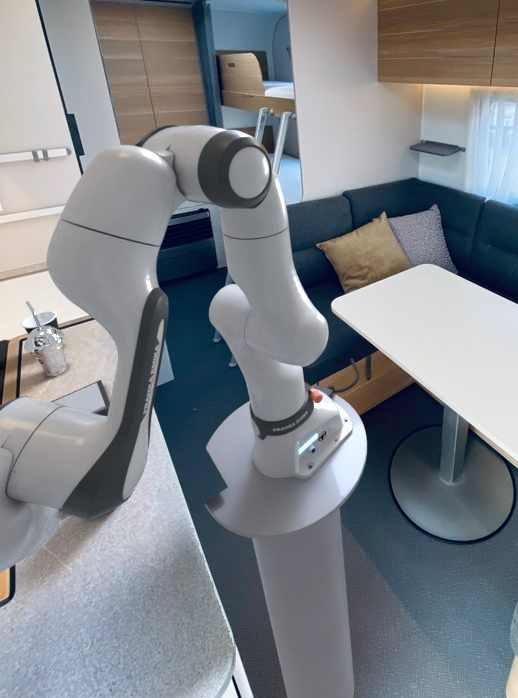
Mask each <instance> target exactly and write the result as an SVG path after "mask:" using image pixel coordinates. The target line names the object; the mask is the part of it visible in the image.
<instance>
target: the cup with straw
mask: <svg viewBox="0 0 518 698" xmlns="http://www.w3.org/2000/svg"><path fill="white" fill-rule="evenodd" d="M25 304H26V306H27V307H28V309H29V311H30V312H31V316H32V315H33V317H34V320H35V322H36V325H37V327H38V328H36V329H34V330H33V331H31V332H30V334H29V335H27V337H26V341H25V342H24V344H23V349H24V351H25V352H27V353H30V354H31V355H32V356H33V357H34V358H35V360H36V361H37V362H38V364H39V365H40V367H41V369H42V370H43V372H44V373H45V374H46V376H47V377H56V376H59V375H61V374H62V373H64V372H65V371H66V370H67V369H68V365H67V360H66V356H65V351H64V347H63V345H64V344H63V339H64V338H65V333H64V332H63V330H61V329H59V330H58V329H56V328H54V327H52V326H41V325H40V323H39V320H38V318H37V315H36V314H37V313H36V311H35V309H34V307H33V305H32V304H31V303H30V300H27V301H25Z"/></svg>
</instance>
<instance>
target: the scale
mask: <svg viewBox="0 0 518 698" xmlns="http://www.w3.org/2000/svg"><path fill="white" fill-rule="evenodd" d="M50 402H53V403H57V404H61V405H65V406H67V407H70V408H74V409H78V410H82V411H86V412H90V413H94V414H98V415H102V416H108V411H109V406H110V399H109V397H108V394H107V391H106V389H105V386H104V383H103V381H102V379H99V380H97V381H95V382H93V383H89V384H88V385H86V386H83V387H81V388H79V389H77V390H74V391H72V392H69V393H67V394H64V395H63V396H61V397H58V398H56V399H54V400H52V401H50Z"/></svg>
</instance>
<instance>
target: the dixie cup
mask: <svg viewBox="0 0 518 698" xmlns="http://www.w3.org/2000/svg"><path fill="white" fill-rule="evenodd" d="M36 315H37V318H38V320H39V323H40V325H41V326H52V327H54V328H56V329H58V330H60V328H59V324H58V318H57V316H58V313H57V312H56V311H54V310H44V311H39V312H37V313H36ZM20 325H21V327H22V328H24V330H25V332H26V334H28V335H29V334H30V332H31V331H33V330H34V329H36V328H38V327H37V325H36V322H35V320H34V317H33V315H32V314H31V315H30V316H28V317H26V318H25V319H24V320H23V321H22V322H21V324H20ZM28 335H27V336H28Z"/></svg>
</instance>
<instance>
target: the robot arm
mask: <svg viewBox="0 0 518 698" xmlns="http://www.w3.org/2000/svg"><path fill="white" fill-rule="evenodd" d="M185 202H189V203H195V204H206V205H211V206H214V205H215V206H217V208H218V210H219V215H220V227H221V233H222V239H223V247H224V253H225V261H226V267H227V272H228V274H229V276H230V278H231V279H232V281H233V282H234V283H230V284H228V285H225V286H223V287H222V288H220V289H219V290H218V291H217V293H215V295H214V296H213V298H212V300H211V302H210V305H209V309H208V318H209V322H210V323H211V325H212V326H213V327H214V328H215V330H216V331H217V332H218V334H220V335H221V338H222V339H223V340H224V342H225V343H226V345H227V347H228V348H229V350H230V352H231V354H232V355H233V358H234V360H235V361H236V363H237V365H238V367H239V369H240V371H241V373H242V375H243V377H244V381H245V383H246V384H245V385H246V387H247V392H248V396H249V401H250V406H249V408H250V416H251V418H250V419H251V424H252V428H253V431H254V433H255V440H254V448H253V453H252V459H253V463H254V465H255V467H256V468H257V470H258V471H259V472H260V473H262V474H263V475H265V476H267V477H271V478H288V477H296V478H300V479H308V478H310V477H311V476H312V475H313V474H314V473H315V472H316V471H317V470H318V469H319V468H320V466H321V465H322V464H323V463H324V462H325V461H326V460H327V459H328V458H329V457H330V456H331V455H332V454H333V452H334V451H335V450H336V449H337V448H338V447H339V446H340V445H341V444H342V443H343V442H344V441H345V439H346V438H347V437H348V436H349V435H350V434H351V433H352V431H353V428H352V423H351V420H350V418H349V416H348V415H347V413H346V412H345V411H344V410H343V409H342V408H341V407H340V406H339V405H338V404H337V403H335V402H334V401H333V400H332V398H333V394H339V393H344V392H346V391H348V390H351V389H352V388H354V387H355V386H356V385H357V383H358V382H359V380H360V376H361V373H360V370H359V368H358V366H357V364H356V363H355V361H354V358H352V357H351V358H350V364H351V365H352V367H353V369H354V371H355V373H356V377H355V379H354V381H352V383H351V384H349V385H347V386H345V387H343V388H339V389H336V388H335V386H334V385H332V384H331V385H328V386H326V387H324V386H321V385H318V384H316V385H315V387H312V386H311V385H310V384H309V383H308V382H305V378H304V370H303V368H304V367H307V366H309V365H312V364H313V363H314V362H316V361H317V360H318V359H319V358H320V357H321V355H322V354H323V353H324V351H325V349H326V347H327V344H328V340H329V325H328V322H327V319H326V318H325V316H323V315H322V313H320V311H319V310H318V309H317V308H316V306H315V305H314V304H313V303H312V301H311V299H310V298H309V297H308V294H307V293H306V291H305V289H304V287H303V285H302V283H301V281H300V278H299V276H298V274H297V270H296V267H295V263H294V259H293V251H292V244H291V243H292V242H291V236H290V225H289V214H288V208H287V204H286V202H287V201H286V197H285V194H284V190H283V187H282V183H281V179H280V176H279V174H278V173H277V172H276V169H274V168H273V164H272V161H271V157H270V154H269V152H268V150H267V148H266V147H265V146H264V145H263V143H262V142H261V141H260V140H258V138H255V137H254V136H253V135H250V134H248V133H245V132H242V131H240V130H236V129H226V128H221V127H218V126H212V125H205V124H197V125H179V124H167V125H162V126H158V127H156V128H154V129H152V130H150V131H148V132H147V133H146V134H144V136H142V137H141V138H140V139H139V141H138V142H137V143H136V144H134V145H133V144H132V145H131V144H115V145H109V146H107V147H105V148H103V149H101V150H100V151H99V152H97V154H96V155H95V156H94V157H93V159H92V160H91V161H90V163H89V164H88V165H87V167H86V169H85V170H84V172H83V173H82V174H81V176H80V178H79V179H78V181H77V183H76V185H75V186H74V188H73V189H72V191H71V193H70V195H69V197H68V199H67V201H66V203H65V205H64V207H63V209H62V212H61V214H60V216H59V219H58V221H57V223H56V226H55V228H54V229H53V232H52V235H51V238H50V240H49V243H48V247H47V252H46V260H45V263H46V268H47V270H48V274H49V276H50V279H51V280H52V282H53V284H54V285H55V287H56V288H57V289H58V291H59V292H60V293H61V294H62V295H63V296H64V297H65V298H66V299H67V300H68V301H70V303H72V304H73V305H75V306H76V307H78V308H79V309H80V310H82V311H83V312H85V313H86V314H87V315H88V316H89V317H91V318H92V319H94V321H96V322H97V323H98V324H99V325H100V326H101V327H102V328H103V329H104V330H105V331H106V333H108V334H109V336H110V337H111V339H112V341H113V342H114V344H115V346H116V350H117V364H116V371H115V376H114V380H113V386H112V391H111V395H110V396H111V397H110V400H109V402H110V406H109V411H108V416H102V415H98V414H94V413H90V412H86V411H82V410H78V409H74V408H70V407H67V406H65V405H61V404H57V403H53V402H51V401H48V400H44V399H40V398H34V397H31V396H27V395H22V396H19V397H15V398H13V399H10V400H8V401H6V402H4V403H2V404H0V574H1V573H3V572H4V571H7V570H8V569H10V568H12V567H14V566H15V565H17V564H18V563H20V562H22V561H23V560H25V559H27V558H28V557H30V556H31V555H33V554H35V553H37V551H39V550H40V549H41V548H43V547H44V546H45V545H46V544H47V543H48V542H49V541H50V540H51V539H52V537H53V536H54V534H55V533H56V531H57V530H58V527H59V526H60V524H61V521H63V520H67V519H69V518H72V517H75V518H76V517H77V518H79V519H82V520H85V521H91V520H94V519H96V518H98V517H101V516H103V515H105V514H108V513H109V512H111V511H114V510H115V509H116V508H118V507H120V506H122V505H123V504H124V503H126V502H127V501H128V500H129V499H130V497H131V496H132V495H133V493H134V492H135V489H136V488H137V486H138V485H139V483H140V480H141V479H142V477H143V474H144V472H145V469H146V465H147V461H148V458H149V457H148V456H149V449H150V448H149V447H150V441H151V428H152V427H151V426H152V418H153V417H152V416H153V410H154V404H155V398H156V394H157V388H158V382H159V377H160V372H161V365H162V359H163V353H164V350H165V349H164V348H165V344H166V343H165V342H166V336H167V328H168V322H169V321H168V320H169V297H168V295H167V294H166V293H165V292H164V291H163V290H162V289H161V287H160V285H159V281H158V273H157V265H158V264H157V263H158V256H159V252H160V249H161V246H162V244H163V240H164V238H165V235H166V232H167V229H168V226H169V222H170V219H171V218H172V217H173V215H174V213H175V212H176V211H177V209H179V207H180V206H182V205H183V204H184V203H185ZM312 388H314V389H312ZM310 467H312V468H311V469H309V468H310Z"/></svg>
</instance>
